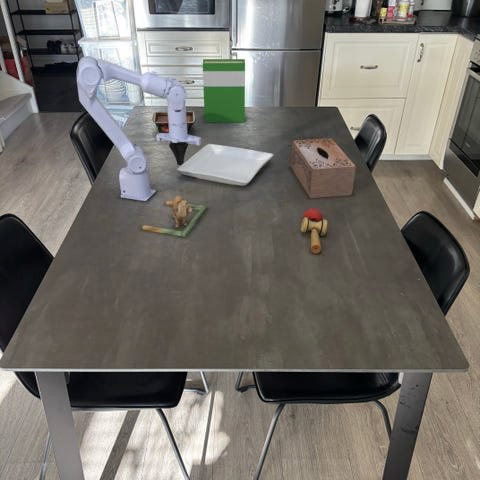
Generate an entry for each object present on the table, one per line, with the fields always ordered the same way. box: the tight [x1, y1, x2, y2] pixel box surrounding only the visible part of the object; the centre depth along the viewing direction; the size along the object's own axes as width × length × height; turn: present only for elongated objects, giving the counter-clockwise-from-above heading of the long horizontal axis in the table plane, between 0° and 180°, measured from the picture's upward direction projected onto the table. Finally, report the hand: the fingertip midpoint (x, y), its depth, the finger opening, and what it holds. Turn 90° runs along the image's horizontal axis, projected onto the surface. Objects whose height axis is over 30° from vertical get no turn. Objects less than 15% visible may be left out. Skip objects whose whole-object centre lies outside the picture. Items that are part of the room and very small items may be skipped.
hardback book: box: [202, 58, 246, 123], centre depth 231 cm, size 18×7×24 cm, turn 91°
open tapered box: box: [151, 110, 197, 135], centre depth 222 cm, size 14×18×10 cm
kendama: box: [300, 208, 328, 254], centre depth 155 cm, size 8×6×18 cm
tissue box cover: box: [290, 137, 357, 199], centre depth 185 cm, size 26×14×10 cm, turn 10°
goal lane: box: [141, 200, 208, 238], centre depth 165 cm, size 14×18×1 cm
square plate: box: [176, 143, 274, 187], centre depth 193 cm, size 27×27×4 cm
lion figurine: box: [172, 194, 194, 228], centre depth 162 cm, size 15×5×9 cm, turn 20°
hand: (180, 164), depth 175 cm, fingers closed
